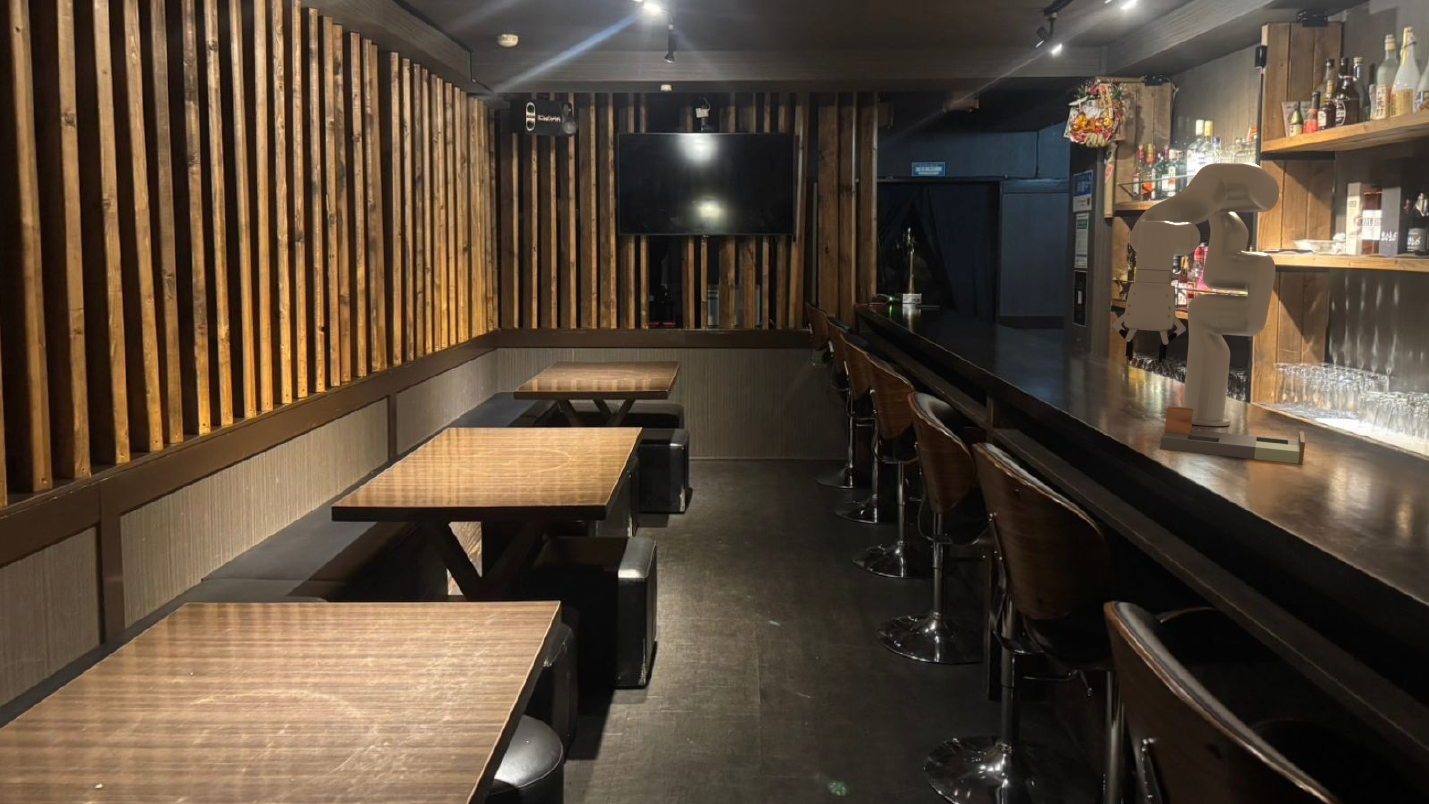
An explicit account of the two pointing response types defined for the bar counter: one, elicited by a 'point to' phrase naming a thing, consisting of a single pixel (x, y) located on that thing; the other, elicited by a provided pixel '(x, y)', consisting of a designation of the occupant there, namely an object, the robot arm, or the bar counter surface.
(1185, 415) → the block
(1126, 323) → the robot arm
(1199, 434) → the deck
